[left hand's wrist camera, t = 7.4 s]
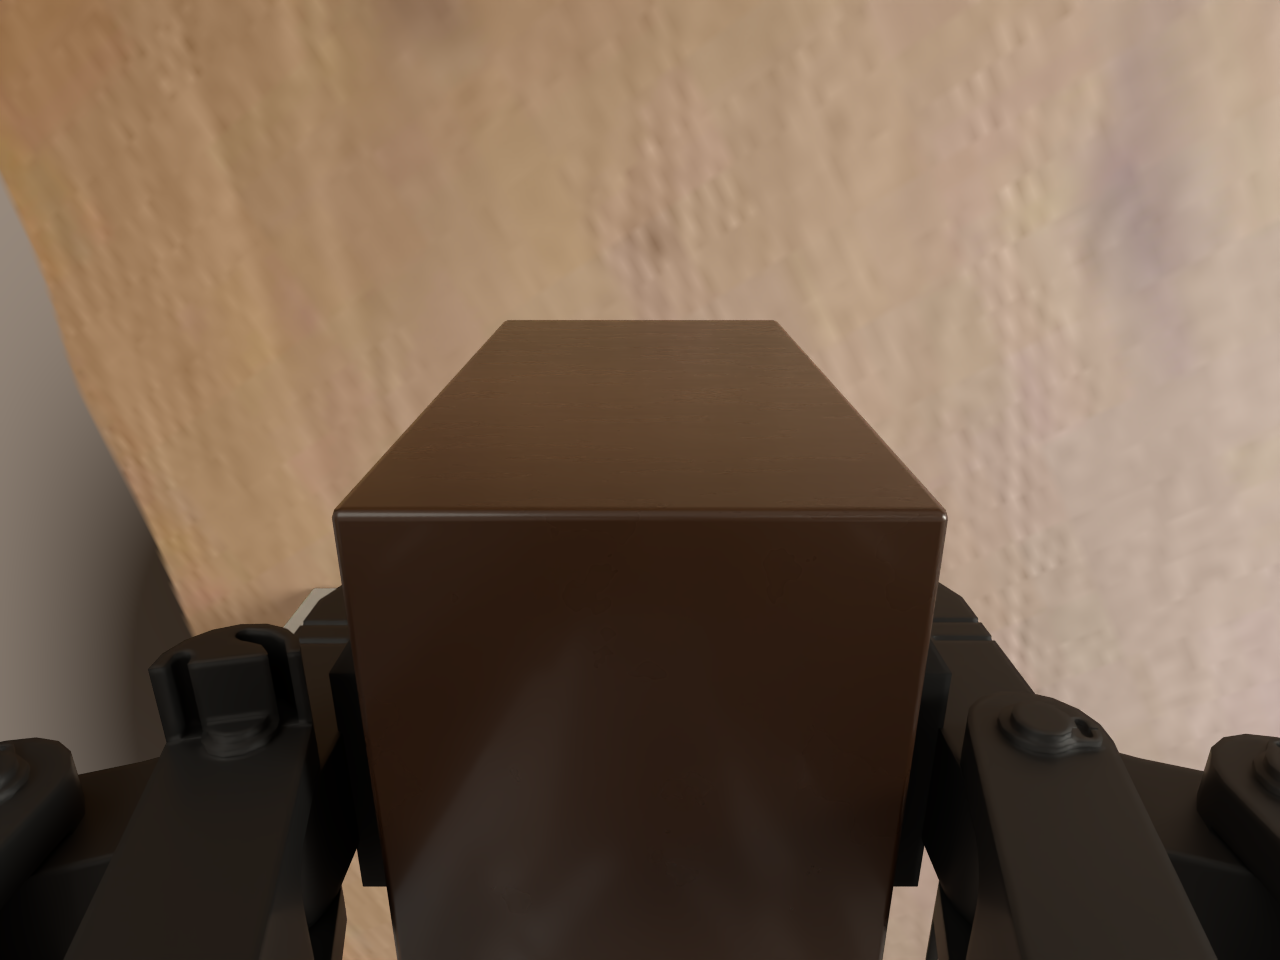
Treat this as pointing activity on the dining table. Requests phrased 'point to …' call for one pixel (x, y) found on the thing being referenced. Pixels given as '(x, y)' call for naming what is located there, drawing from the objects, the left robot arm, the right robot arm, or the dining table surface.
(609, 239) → the dining table surface
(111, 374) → the dining table surface
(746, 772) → the bar
